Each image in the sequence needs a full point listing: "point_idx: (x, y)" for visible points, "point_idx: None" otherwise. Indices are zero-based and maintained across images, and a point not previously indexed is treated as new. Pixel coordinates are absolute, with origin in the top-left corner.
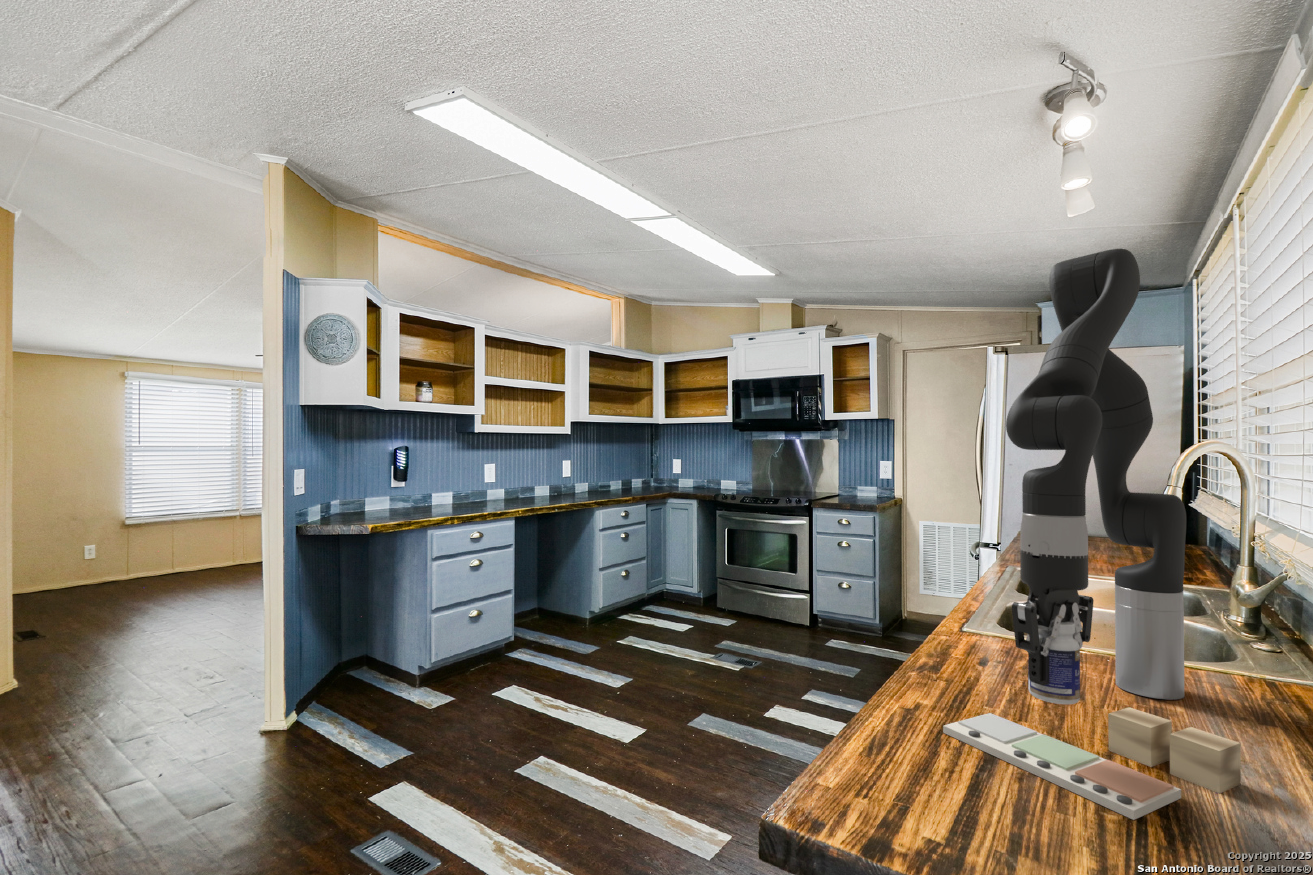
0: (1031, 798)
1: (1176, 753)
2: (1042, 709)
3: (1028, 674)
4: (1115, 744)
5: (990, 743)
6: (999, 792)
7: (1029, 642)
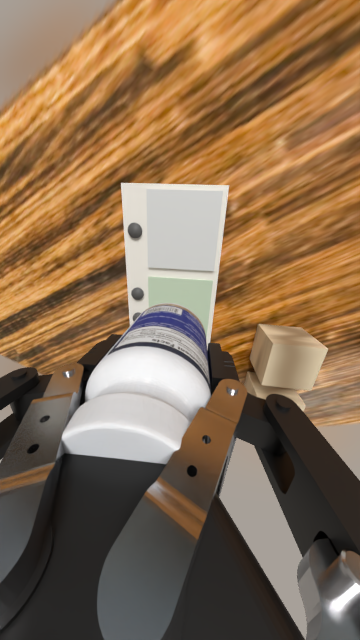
0: (92, 330)
1: (251, 390)
2: (349, 205)
3: (138, 318)
4: (259, 333)
5: (133, 257)
6: (74, 312)
7: (14, 412)
